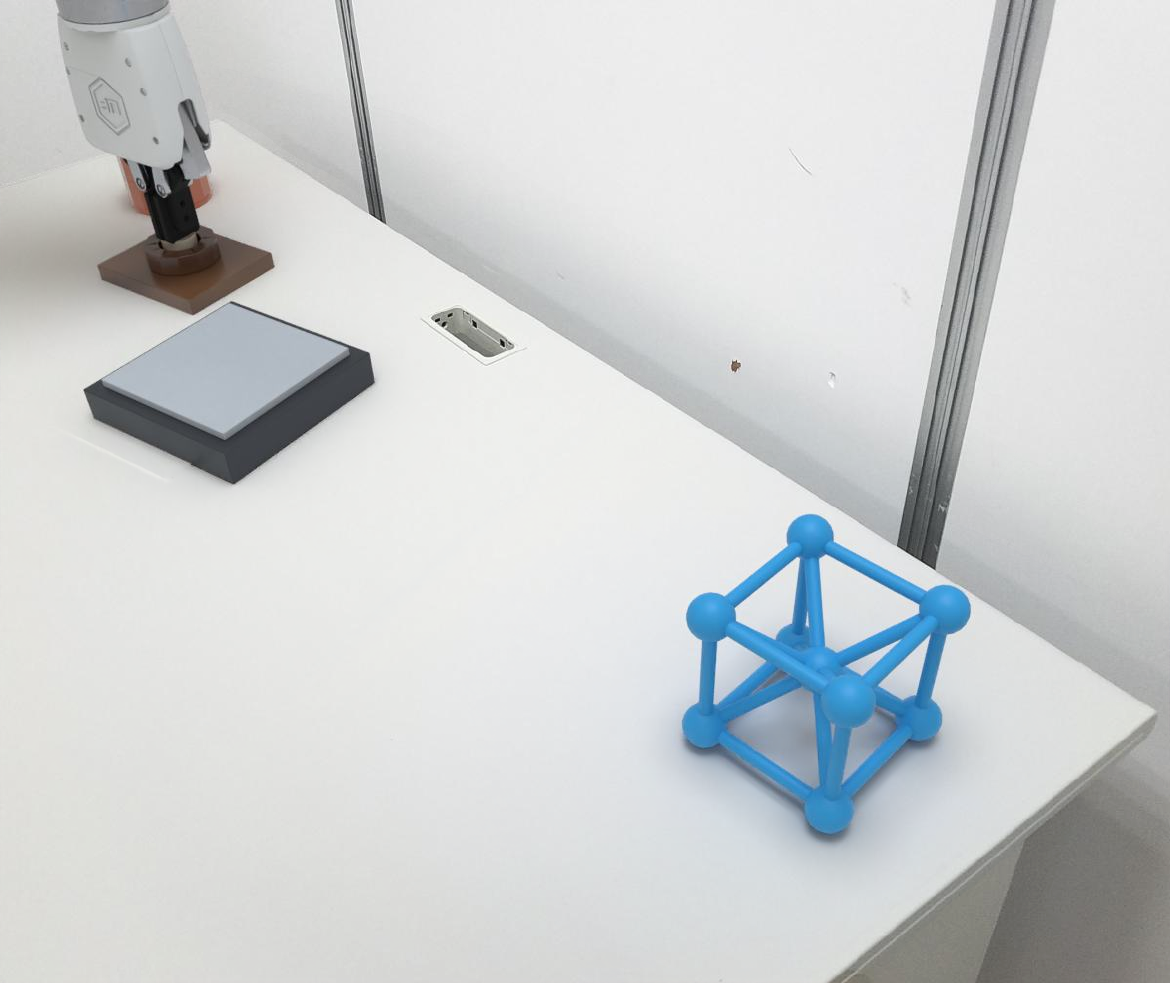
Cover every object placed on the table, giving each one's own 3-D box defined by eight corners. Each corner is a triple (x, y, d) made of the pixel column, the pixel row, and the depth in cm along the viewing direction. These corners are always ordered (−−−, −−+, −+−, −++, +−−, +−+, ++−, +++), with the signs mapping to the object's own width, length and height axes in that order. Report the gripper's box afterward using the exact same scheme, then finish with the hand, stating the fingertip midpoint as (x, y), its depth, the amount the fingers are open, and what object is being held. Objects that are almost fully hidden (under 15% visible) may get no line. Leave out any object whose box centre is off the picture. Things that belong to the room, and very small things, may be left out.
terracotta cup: (115, 205, 109) (96, 146, 106) (175, 175, 114) (160, 117, 110) (169, 224, 106) (152, 163, 103) (229, 192, 111) (214, 133, 107)
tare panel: (101, 280, 99) (90, 246, 97) (184, 236, 105) (175, 203, 103) (193, 316, 95) (183, 282, 93) (275, 268, 100) (267, 234, 98)
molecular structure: (790, 637, 67) (807, 498, 60) (947, 731, 62) (985, 590, 55) (671, 740, 62) (675, 600, 55) (832, 852, 57) (858, 712, 50)
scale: (87, 416, 85) (73, 379, 83) (233, 327, 93) (223, 291, 91) (233, 484, 79) (222, 446, 77) (375, 382, 87) (368, 345, 85)
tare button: (157, 254, 98) (152, 237, 97) (183, 240, 100) (178, 223, 99) (181, 263, 97) (176, 245, 96) (207, 248, 98) (202, 231, 97)
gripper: (-1, -8, 86) (81, 231, 98) (140, 26, 79) (209, 278, 92) (84, -37, 90) (152, 196, 103) (224, -7, 84) (278, 238, 96)
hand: (179, 234), depth 97 cm, fingers closed
